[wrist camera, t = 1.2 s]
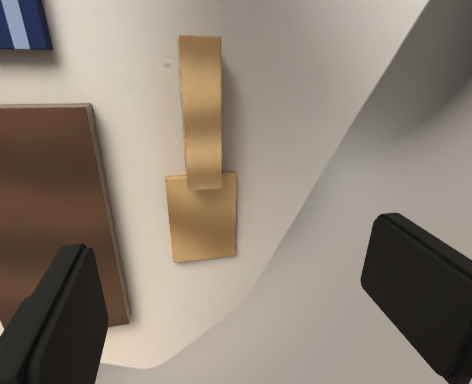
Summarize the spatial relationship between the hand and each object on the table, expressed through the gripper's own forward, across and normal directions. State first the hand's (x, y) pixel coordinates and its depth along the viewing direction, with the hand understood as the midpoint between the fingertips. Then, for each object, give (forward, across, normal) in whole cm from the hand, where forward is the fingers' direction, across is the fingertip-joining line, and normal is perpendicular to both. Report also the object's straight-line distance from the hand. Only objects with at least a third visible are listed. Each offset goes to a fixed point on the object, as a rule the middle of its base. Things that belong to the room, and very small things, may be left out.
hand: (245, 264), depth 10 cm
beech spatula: (+20, 0, +3) cm, 20 cm away
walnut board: (+20, +15, +9) cm, 26 cm away
